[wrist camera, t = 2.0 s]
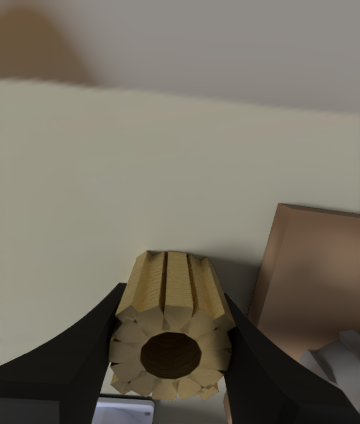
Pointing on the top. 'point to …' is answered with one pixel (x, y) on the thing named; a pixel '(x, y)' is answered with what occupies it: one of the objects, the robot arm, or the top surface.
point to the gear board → (312, 294)
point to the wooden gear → (171, 329)
